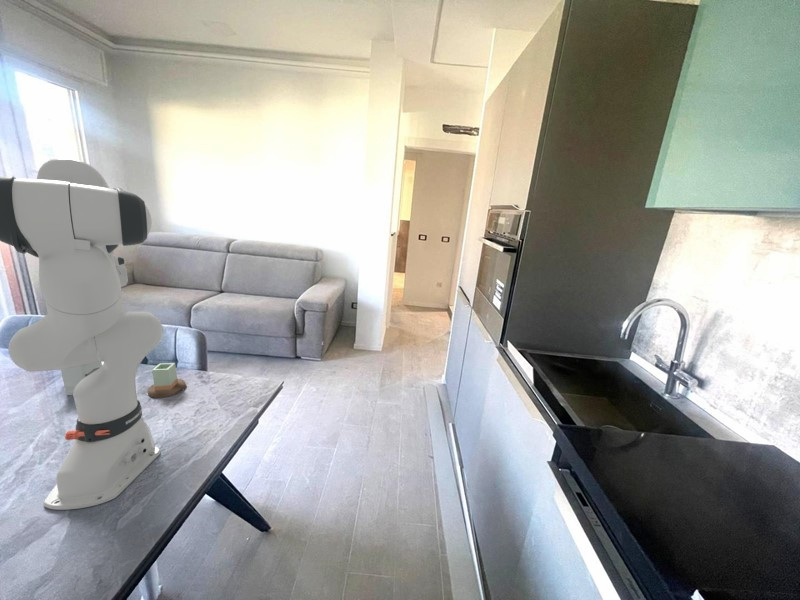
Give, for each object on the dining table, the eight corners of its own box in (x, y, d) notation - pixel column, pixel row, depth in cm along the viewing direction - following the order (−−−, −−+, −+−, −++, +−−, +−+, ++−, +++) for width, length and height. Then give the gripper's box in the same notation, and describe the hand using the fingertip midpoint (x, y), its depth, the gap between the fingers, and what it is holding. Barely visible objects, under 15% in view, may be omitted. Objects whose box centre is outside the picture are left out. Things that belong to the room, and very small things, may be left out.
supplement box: (87, 396, 108) (79, 362, 105) (65, 395, 108) (57, 361, 105) (107, 385, 115) (100, 353, 112) (86, 384, 115) (79, 352, 112)
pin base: (177, 397, 111) (175, 381, 109) (141, 398, 108) (138, 382, 107) (190, 381, 121) (189, 366, 119) (158, 382, 119) (155, 367, 117)
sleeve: (171, 390, 112) (168, 369, 110) (154, 390, 111) (150, 370, 109) (178, 382, 117) (175, 362, 115) (162, 383, 116) (159, 363, 114)
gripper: (80, 268, 86) (90, 316, 89) (128, 257, 105) (135, 298, 109) (53, 267, 85) (64, 316, 88) (107, 257, 104) (114, 297, 108)
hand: (104, 306), depth 99 cm, fingers open, 8 cm apart
